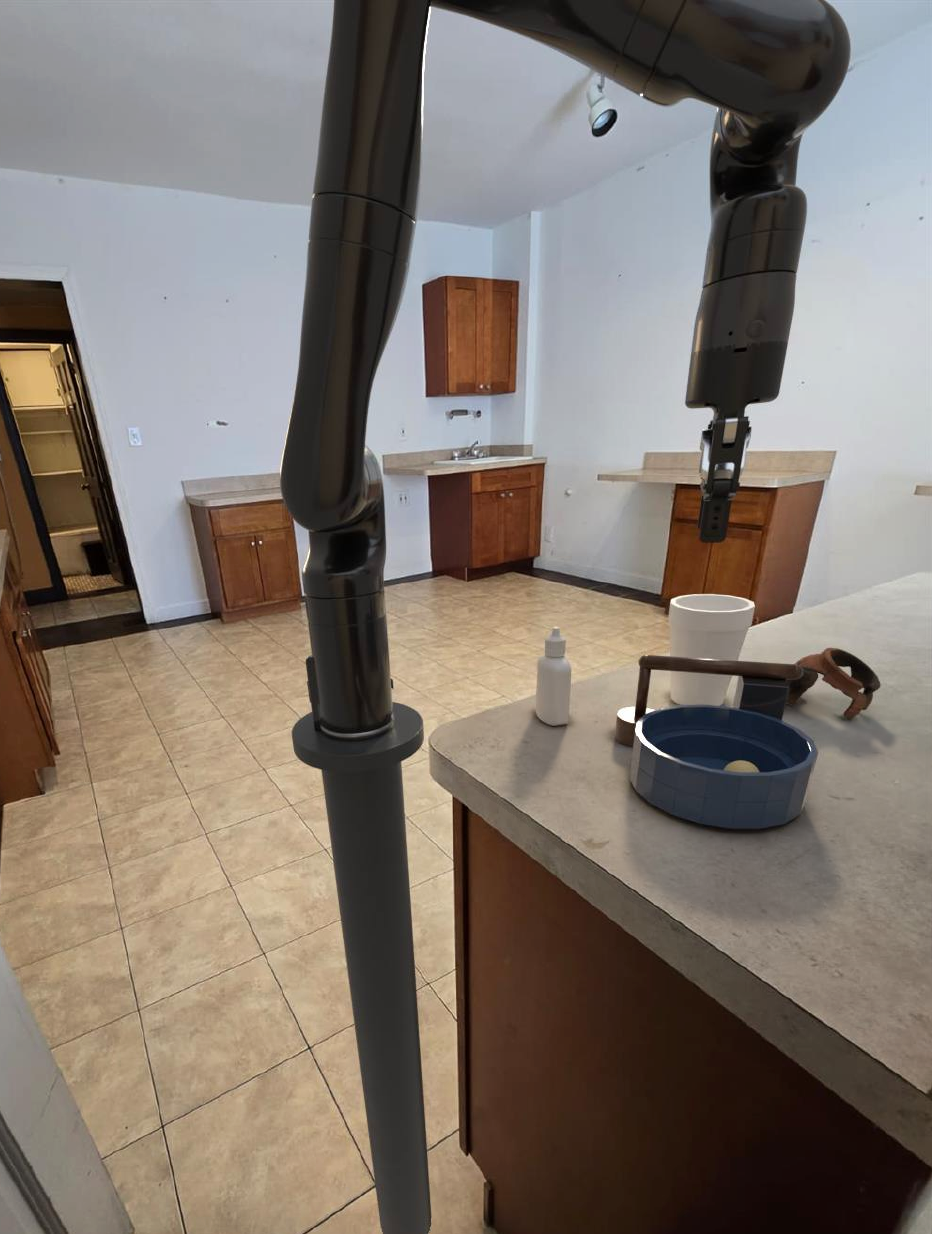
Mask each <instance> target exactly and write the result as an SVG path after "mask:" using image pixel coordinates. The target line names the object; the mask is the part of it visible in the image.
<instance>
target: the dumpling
mask: <svg viewBox="0 0 932 1234" xmlns="http://www.w3.org/2000/svg"><path fill="white" fill-rule="evenodd" d="M724 770H725V771H733V772H759V770H758V769H757V767H756V766H755V765H753V764H752V763H750V762H747V761H743V760H739V761H734V762H731V763H730V764H728V765H727V766H726V767H725V768H724Z"/></svg>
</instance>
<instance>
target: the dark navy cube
mask: <svg viewBox="0 0 932 1234" xmlns="http://www.w3.org/2000/svg"><path fill="white" fill-rule="evenodd" d="M737 677H738V678H737V682H736V683H737V684H736V688H735V689H736V690H735V694H734V699H733V705H732V707H733V708H738V709H743V710H748V711H753V712H758V713H761V714H764V715H767V716H770V717H774V718H777V719H780V720H782V721H783V718H784V714H785V710H786V705H787V704H786V701H787V696H788V692H789V685H788V683H787V680H786V679H772V678H759V677H745V676H737Z"/></svg>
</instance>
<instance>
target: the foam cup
mask: <svg viewBox="0 0 932 1234" xmlns="http://www.w3.org/2000/svg"><path fill="white" fill-rule="evenodd" d="M755 608H756V605H755V601H752V600H750V599H748V598H745V597H739V596H735V595H729V594H717V593H716V594H715V593H695V594H686V595H685V594H684V595H678V596H676V597H673V598H671V599H670V603H669V610H668V617H667V622H668V623H669V656H672V657H687V658H703V659H719V660H734V661H739V658H740V655H741V652H742V649H743V646H744V642H745V640H746V637H747V634H748V631H749V628H750V627H751V626H752V624H753V619H754V613H755ZM732 678H733V676H731V675H717V674H704V673H690V672H676V671H669V685H670V686H669V688H670V692H669V693H670V700H671V701H673V702H674V703H675V704H677V705H714V706H723V704H724V700H725V699H726V696H727V693H728V690H729V687H730V684H731V681H732Z"/></svg>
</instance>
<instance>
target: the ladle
mask: <svg viewBox="0 0 932 1234" xmlns="http://www.w3.org/2000/svg"><path fill="white" fill-rule="evenodd" d="M637 663H638V666H639V670H638V680H637V688H636V697H635V706H629V707H624V708H621V709H619V710H618V711H617V713H616V720H615V721H616V722H615V730H614V731H615V732H614V738H615V740H616V741H617V742H618V743H620V744H622V745H624V746H627V747H631V748H633V744H634V735H635V728H636V723H637V721H638V720H639V719H641V718H642V717H643V716H644V715H645V714H647V713H650V712H652V711H655V710H656V709H653V708H649V707H647V706H648V699H649V690H650V682H651V674H652V671H662V672H663V671H664V672H670V671H676V672H690V673H704V674H717V675H731V676H732V677H733V676H734V677H739V676H745V677H759V678H772V679H786V680H797V679H799V678H801V677H802V675H803V668H802V667H801V666H799V665H796V664H795V663H780V662H766V661H765V662H763V661H749V660H748V661H747V660H738V661H734V660H719V659H703V658H687V657H672V656H670V655H669V656H668V655H656V654H655V655H652V654H644V655H641V656H640V658H639V659H638V662H637Z"/></svg>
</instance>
